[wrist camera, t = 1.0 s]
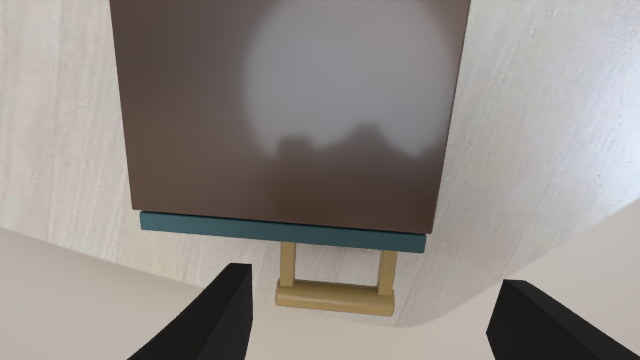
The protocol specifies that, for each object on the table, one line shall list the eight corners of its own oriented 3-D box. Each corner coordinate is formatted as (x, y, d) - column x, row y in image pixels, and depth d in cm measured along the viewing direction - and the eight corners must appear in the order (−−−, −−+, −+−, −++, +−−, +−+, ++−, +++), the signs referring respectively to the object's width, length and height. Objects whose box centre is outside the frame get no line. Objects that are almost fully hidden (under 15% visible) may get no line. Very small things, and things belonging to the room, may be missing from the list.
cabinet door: (385, 259, 23) (407, 354, 15) (216, 244, 24) (150, 328, 16) (396, 177, 21) (427, 236, 13) (213, 164, 22) (138, 212, 14)
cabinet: (397, 173, 22) (432, 234, 13) (214, 160, 22) (131, 210, 14) (419, 0, 19) (483, -68, 10) (208, -10, 19) (99, -82, 11)
